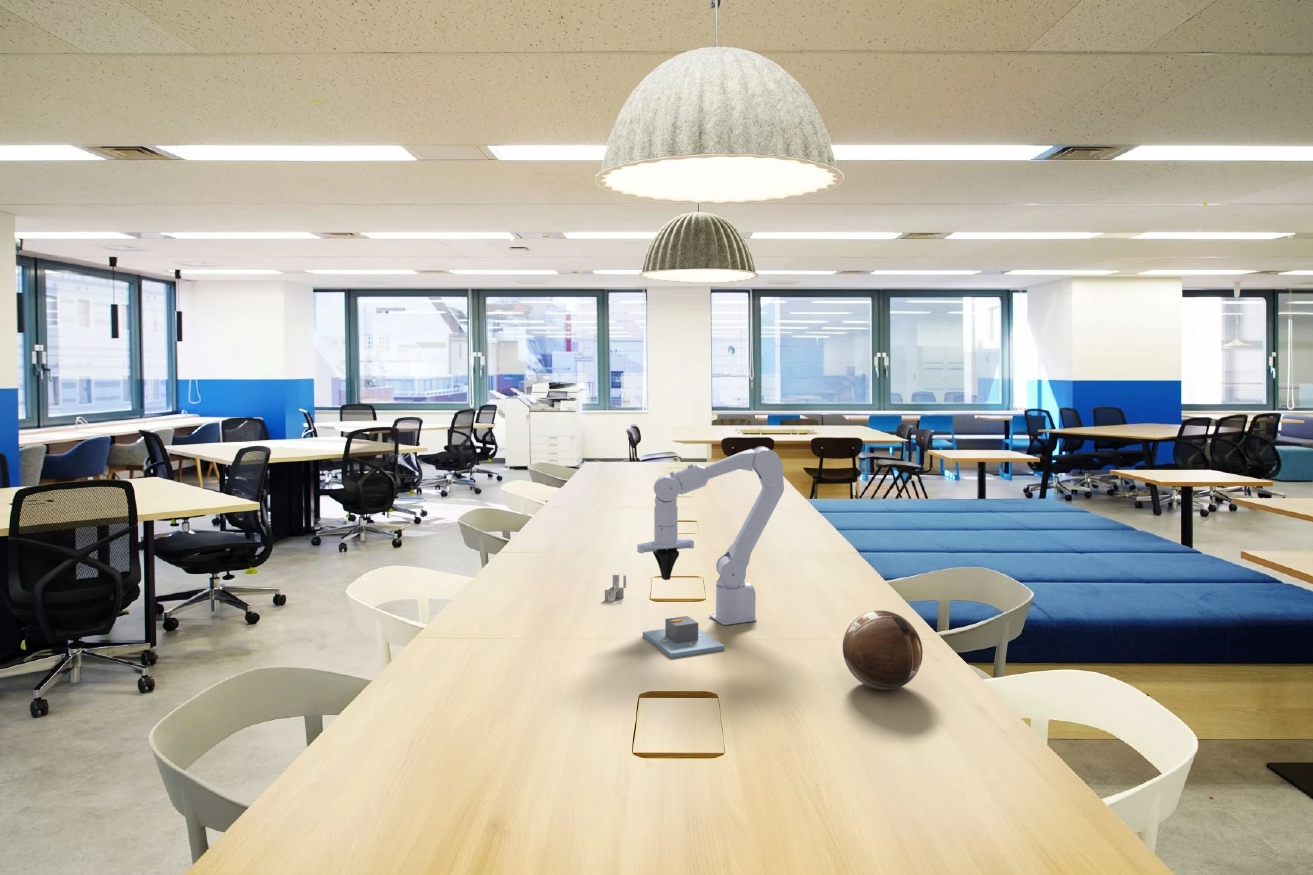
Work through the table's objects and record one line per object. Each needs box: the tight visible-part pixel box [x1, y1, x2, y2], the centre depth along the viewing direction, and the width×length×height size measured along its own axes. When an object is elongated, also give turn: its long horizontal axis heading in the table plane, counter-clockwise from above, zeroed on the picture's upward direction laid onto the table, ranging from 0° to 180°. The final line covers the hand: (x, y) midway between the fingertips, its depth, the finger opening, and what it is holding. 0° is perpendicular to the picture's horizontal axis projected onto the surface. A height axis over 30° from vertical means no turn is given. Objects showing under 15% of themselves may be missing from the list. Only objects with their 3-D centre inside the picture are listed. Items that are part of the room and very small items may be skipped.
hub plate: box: [642, 628, 725, 659], centre depth 183 cm, size 13×16×4 cm
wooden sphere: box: [842, 610, 923, 691], centre depth 157 cm, size 15×15×15 cm
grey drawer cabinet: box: [664, 615, 699, 643], centre depth 183 cm, size 6×6×4 cm
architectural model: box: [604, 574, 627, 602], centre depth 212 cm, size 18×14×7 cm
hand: (665, 579), depth 199 cm, fingers closed
